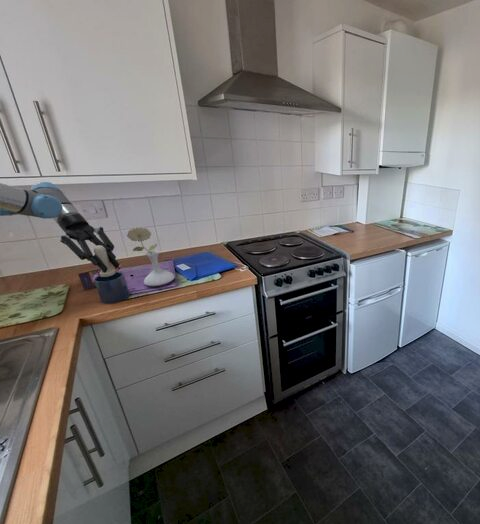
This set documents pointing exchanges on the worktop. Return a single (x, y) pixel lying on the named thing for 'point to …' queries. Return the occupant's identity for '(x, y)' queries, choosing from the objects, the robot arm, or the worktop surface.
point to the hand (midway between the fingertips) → (111, 268)
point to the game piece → (104, 260)
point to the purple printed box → (88, 278)
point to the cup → (112, 288)
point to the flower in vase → (157, 274)
